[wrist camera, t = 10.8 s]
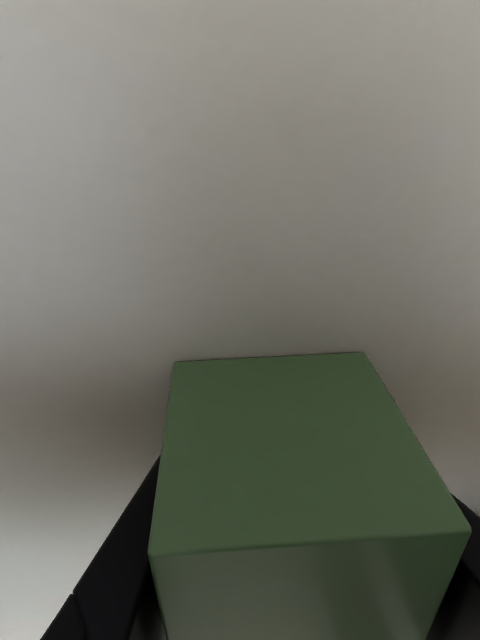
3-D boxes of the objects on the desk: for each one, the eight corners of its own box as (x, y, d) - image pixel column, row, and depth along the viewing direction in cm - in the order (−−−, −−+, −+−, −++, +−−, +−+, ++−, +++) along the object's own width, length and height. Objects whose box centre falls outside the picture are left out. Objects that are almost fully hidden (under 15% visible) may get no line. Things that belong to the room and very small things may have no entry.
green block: (343, 480, 12) (412, 675, 8) (188, 491, 11) (177, 697, 7) (364, 350, 9) (475, 529, 6) (173, 360, 9) (146, 555, 5)
